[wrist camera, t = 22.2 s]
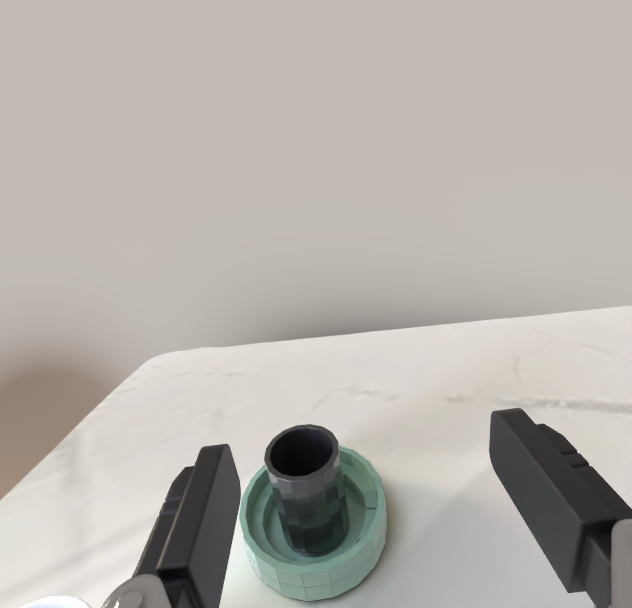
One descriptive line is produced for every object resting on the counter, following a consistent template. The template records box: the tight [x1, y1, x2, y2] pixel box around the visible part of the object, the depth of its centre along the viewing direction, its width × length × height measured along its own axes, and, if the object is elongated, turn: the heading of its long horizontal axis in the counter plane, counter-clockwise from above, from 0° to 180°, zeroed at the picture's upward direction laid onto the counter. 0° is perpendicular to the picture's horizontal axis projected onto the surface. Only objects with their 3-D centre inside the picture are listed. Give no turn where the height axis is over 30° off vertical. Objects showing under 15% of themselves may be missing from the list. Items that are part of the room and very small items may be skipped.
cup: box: [264, 424, 349, 557], centre depth 33 cm, size 6×6×9 cm
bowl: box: [239, 445, 387, 601], centre depth 34 cm, size 13×13×4 cm
